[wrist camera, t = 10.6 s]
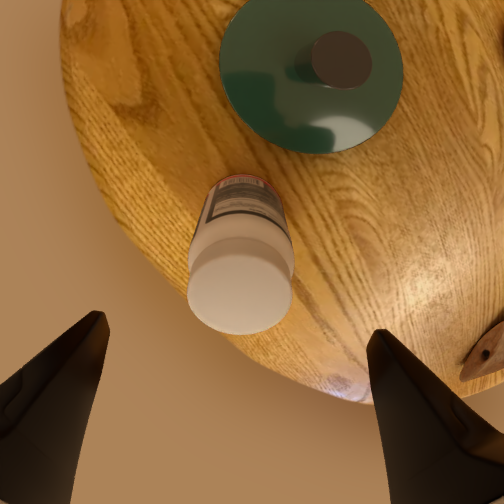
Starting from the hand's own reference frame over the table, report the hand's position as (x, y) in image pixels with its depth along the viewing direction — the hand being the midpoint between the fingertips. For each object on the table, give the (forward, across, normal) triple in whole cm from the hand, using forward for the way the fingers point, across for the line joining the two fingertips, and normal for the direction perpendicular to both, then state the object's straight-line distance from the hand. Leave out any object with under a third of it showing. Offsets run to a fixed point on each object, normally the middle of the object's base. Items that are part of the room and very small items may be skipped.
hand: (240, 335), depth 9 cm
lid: (+10, -3, -8) cm, 13 cm away
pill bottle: (+11, 0, 0) cm, 11 cm away
